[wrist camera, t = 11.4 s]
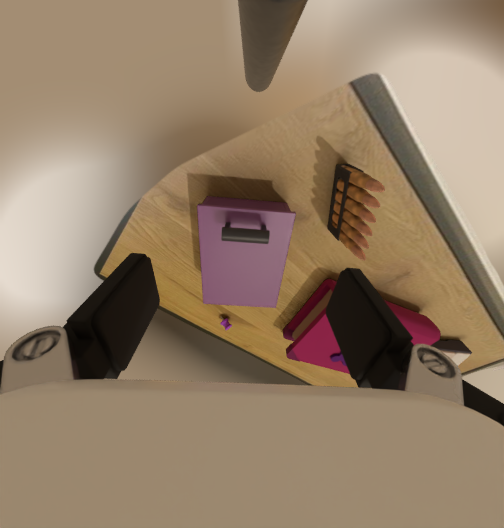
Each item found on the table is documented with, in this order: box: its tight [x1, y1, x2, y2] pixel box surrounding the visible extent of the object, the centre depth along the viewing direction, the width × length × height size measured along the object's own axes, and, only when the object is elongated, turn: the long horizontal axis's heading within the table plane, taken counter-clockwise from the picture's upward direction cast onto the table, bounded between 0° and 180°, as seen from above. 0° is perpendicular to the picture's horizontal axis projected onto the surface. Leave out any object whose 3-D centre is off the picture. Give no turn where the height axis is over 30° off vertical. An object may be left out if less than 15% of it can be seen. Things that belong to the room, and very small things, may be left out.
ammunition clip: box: [328, 164, 385, 260], centre depth 29 cm, size 11×2×12 cm, turn 5°
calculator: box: [430, 340, 472, 366], centre depth 57 cm, size 11×4×15 cm
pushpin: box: [221, 317, 232, 330], centre depth 49 cm, size 2×3×3 cm
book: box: [283, 279, 441, 374], centre depth 48 cm, size 21×28×8 cm
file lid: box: [197, 204, 296, 308], centre depth 31 cm, size 18×13×5 cm
